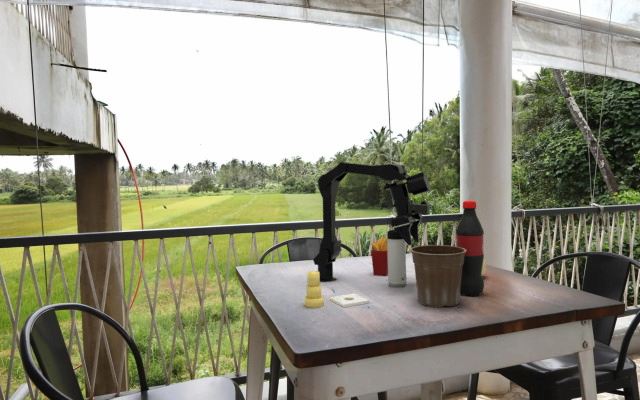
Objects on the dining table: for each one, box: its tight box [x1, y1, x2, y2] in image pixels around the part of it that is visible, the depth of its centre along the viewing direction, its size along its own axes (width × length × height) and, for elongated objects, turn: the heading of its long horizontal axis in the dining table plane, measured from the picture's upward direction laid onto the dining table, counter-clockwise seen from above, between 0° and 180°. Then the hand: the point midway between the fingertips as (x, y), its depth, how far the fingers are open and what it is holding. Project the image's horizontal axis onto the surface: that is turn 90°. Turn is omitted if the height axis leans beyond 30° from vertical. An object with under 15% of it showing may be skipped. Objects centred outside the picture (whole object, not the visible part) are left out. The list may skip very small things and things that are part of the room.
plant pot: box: [410, 244, 466, 308], centre depth 126 cm, size 16×16×16 cm
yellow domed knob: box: [304, 270, 324, 309], centre depth 126 cm, size 6×6×10 cm
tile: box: [328, 293, 370, 308], centre depth 129 cm, size 9×9×1 cm
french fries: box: [370, 236, 388, 277], centre depth 166 cm, size 9×8×15 cm
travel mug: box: [386, 228, 407, 288], centre depth 147 cm, size 6×7×20 cm
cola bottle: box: [455, 200, 485, 297], centre depth 134 cm, size 8×8×30 cm
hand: (413, 243), depth 143 cm, fingers open, 9 cm apart
